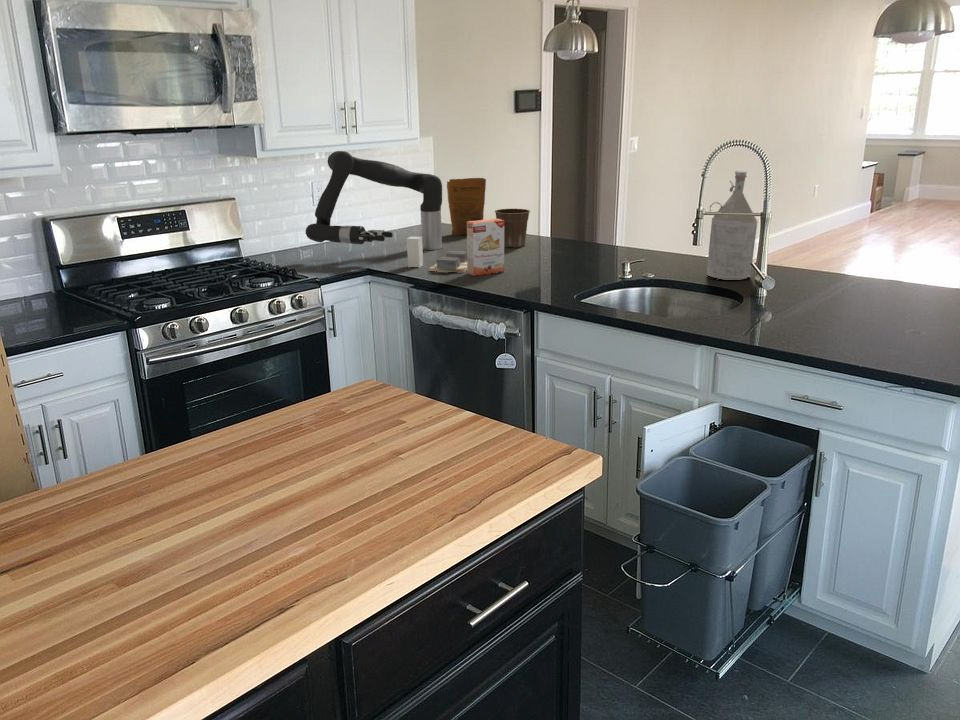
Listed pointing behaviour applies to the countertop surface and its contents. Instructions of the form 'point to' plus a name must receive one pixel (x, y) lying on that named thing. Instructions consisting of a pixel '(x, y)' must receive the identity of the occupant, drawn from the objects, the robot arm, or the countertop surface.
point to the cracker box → (485, 246)
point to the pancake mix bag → (465, 202)
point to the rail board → (451, 262)
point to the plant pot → (514, 226)
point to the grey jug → (732, 236)
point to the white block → (415, 252)
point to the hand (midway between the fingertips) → (388, 236)
